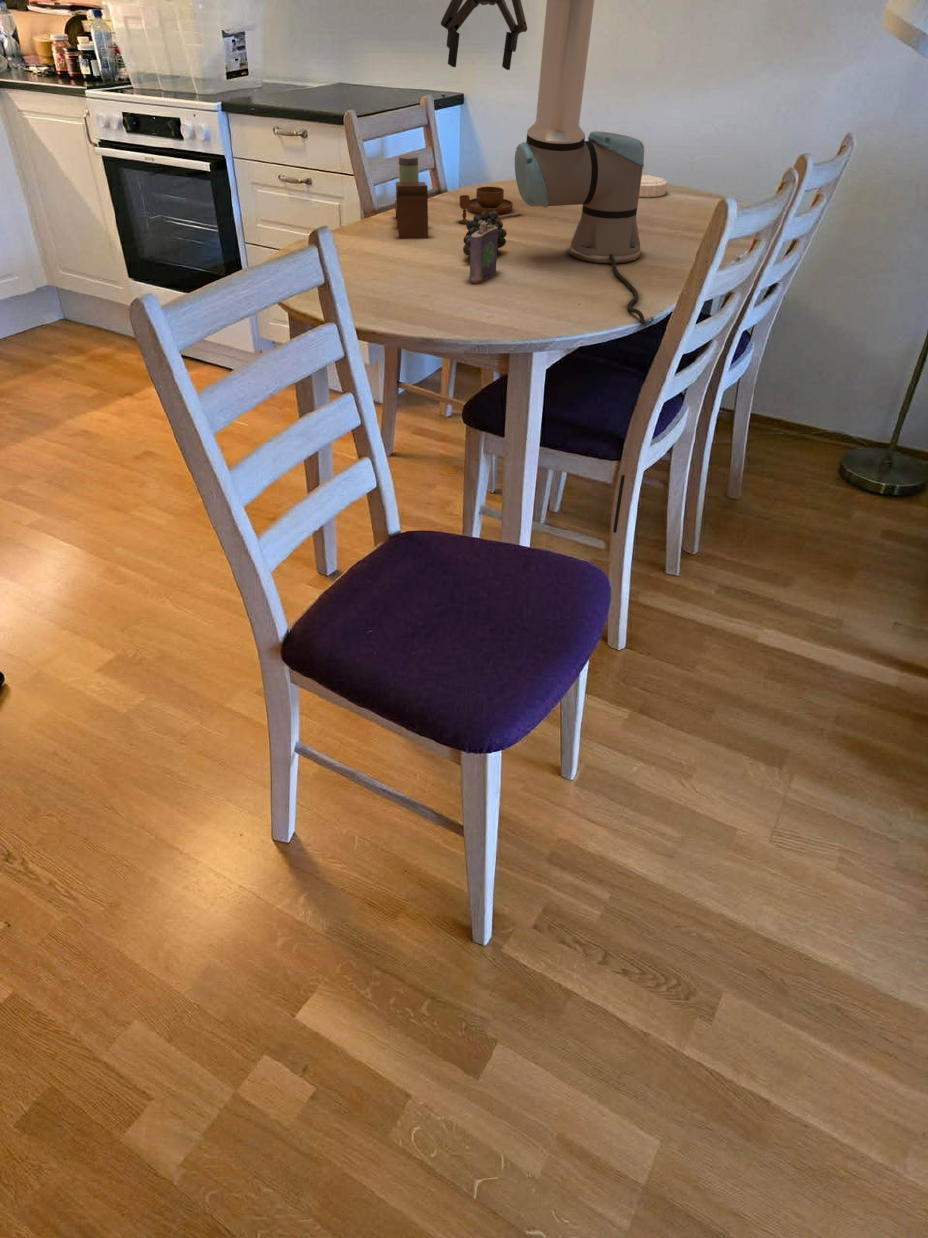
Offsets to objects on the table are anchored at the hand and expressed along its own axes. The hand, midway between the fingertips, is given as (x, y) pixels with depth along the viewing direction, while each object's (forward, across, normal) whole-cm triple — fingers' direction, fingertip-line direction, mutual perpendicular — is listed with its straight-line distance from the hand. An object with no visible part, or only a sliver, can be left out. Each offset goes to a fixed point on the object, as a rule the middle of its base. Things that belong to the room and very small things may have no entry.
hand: (478, 66), depth 189 cm
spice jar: (+29, +13, +1) cm, 32 cm away
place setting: (+29, +3, -15) cm, 32 cm away
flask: (+43, -22, +31) cm, 58 cm away
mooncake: (+16, -28, -56) cm, 65 cm away
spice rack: (+35, +10, +5) cm, 37 cm away
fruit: (+39, -15, +18) cm, 46 cm away
